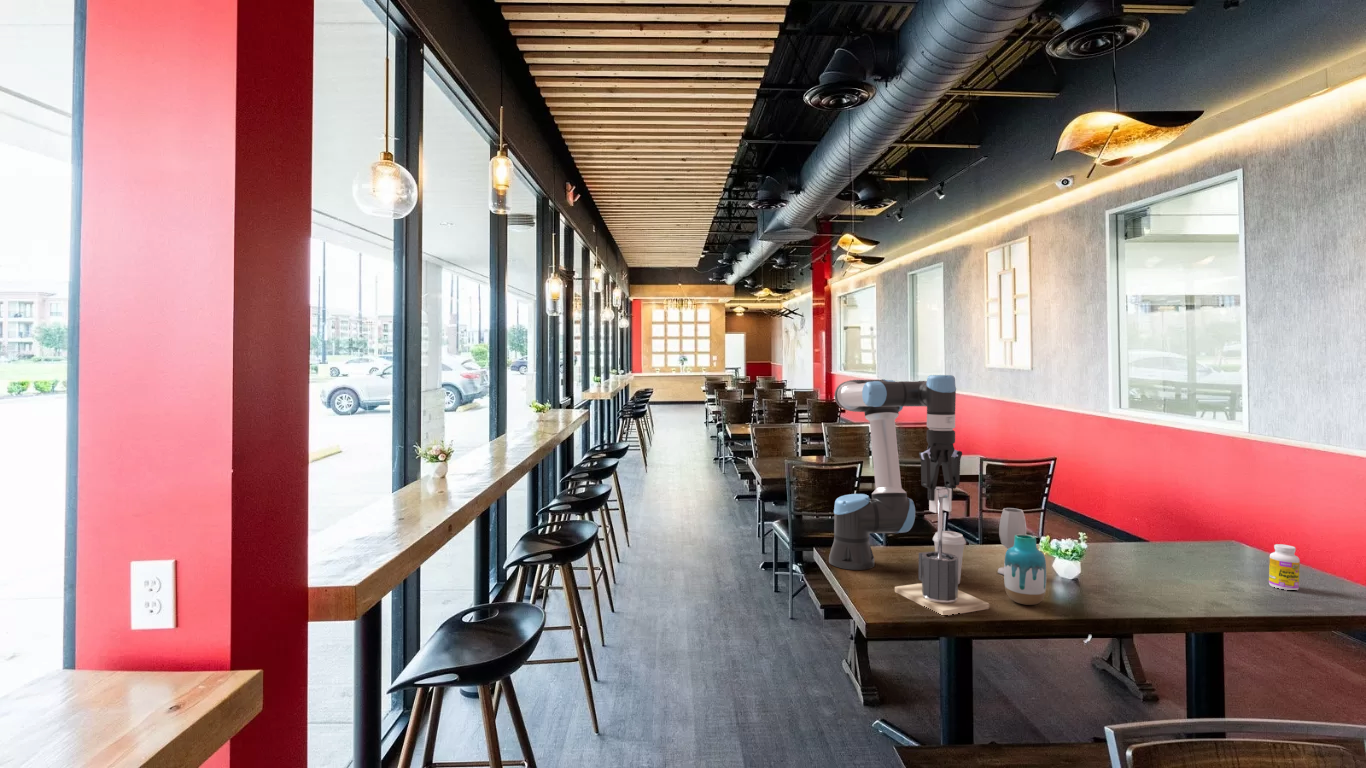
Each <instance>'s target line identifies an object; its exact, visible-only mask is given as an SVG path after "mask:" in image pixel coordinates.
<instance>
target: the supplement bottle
mask: <svg viewBox="0 0 1366 768" xmlns="http://www.w3.org/2000/svg"><path fill="white" fill-rule="evenodd" d="M1273 548H1274V551H1273V552H1271V553H1270V554H1269V566H1268V567H1269V568H1268V585H1269V586H1270V587H1272V588H1274V587H1275V589H1277V588H1279V589H1278V590H1281V589H1284V590H1283V591H1287V590H1297V591H1299V589H1300V587H1299V586H1300V558H1299V557H1298V556H1297V555H1295V553H1296V550H1297V549H1296V546H1293V545H1288V544H1284V543H1283V544H1282V543H1280V544H1278V543H1276V544H1274V545H1273Z"/></svg>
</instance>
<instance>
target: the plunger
mask: <svg viewBox="0 0 1366 768" xmlns="http://www.w3.org/2000/svg"><path fill="white" fill-rule="evenodd" d="M945 487H946V486H936V489H937V490H938V513H937V532H938V556H930V558H932V559H938V560H951V559H950V558H948V557H944V556H942V531H943V514H944V513H943V512H944V510H943V498H948V488H945Z"/></svg>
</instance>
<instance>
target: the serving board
mask: <svg viewBox="0 0 1366 768" xmlns="http://www.w3.org/2000/svg"><path fill="white" fill-rule="evenodd" d="M894 592H895V593H896V594H899V595H900V596H902V597H904V598H905V599H908V600H910V601H912V602H914V603H916V604H918V605H920V606H922V607H924V606H925V607H924V608H926V607H927V608H926V609H928V608H929V609H928V610H930V609H931V610H930V611H932V610H933V611H932V612H934V611H935V612H934V613H936V612H937V613H936V614H938V613H939V614H941V615H948V616H953V615H952V614H954V615H959V614H958V613H960V614H966V613H971V612H976V611H977V612H978V611H984V610H989V609H990V603H989V602H987V601H985V600H982V599H980V598H979V597H975V596H973V595H971V594H969V593H967V592H964V591H962V590H961V589H960V590H959V589H958V597H957V602H955V603H952V604H940V603H934V602H930V601H928V600H926V599H924V598H923V596H922V582H921V583H913V584H906V585H905V584H904V585H897V586H894ZM939 614H938V615H939ZM941 615H940V616H941Z"/></svg>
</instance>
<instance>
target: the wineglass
mask: <svg viewBox="0 0 1366 768" xmlns="http://www.w3.org/2000/svg"><path fill="white" fill-rule="evenodd" d="M998 527H999V528H998V536H999V540H1000V543H1001V545H1002V546H1004V547H1005V548H1006V550H1008V549H1009V548H1011V547H1013V546H1014V539H1015V535H1017V534H1026V535H1027V522H1026V517H1025V513H1024V511H1023V509H1019V508H1014V507H1004V508H1003V509H1002V512H1001V516H1000V520H999V525H998ZM997 573H998V574H1000V575H1003V576H1004V566H1003V567H998V569H997Z"/></svg>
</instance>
